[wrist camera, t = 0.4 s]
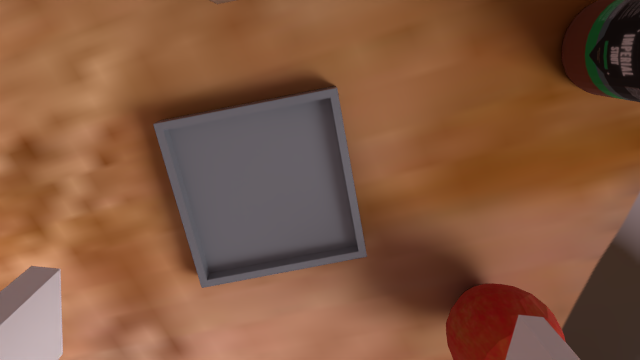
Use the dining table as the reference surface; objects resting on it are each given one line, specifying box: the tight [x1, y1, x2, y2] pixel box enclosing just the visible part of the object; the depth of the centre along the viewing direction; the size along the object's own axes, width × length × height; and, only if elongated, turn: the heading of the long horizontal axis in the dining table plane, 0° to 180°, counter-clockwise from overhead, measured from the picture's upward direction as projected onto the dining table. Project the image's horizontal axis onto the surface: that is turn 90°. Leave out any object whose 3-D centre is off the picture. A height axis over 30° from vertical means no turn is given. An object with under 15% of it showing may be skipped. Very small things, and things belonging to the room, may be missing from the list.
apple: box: [446, 284, 565, 360], centre depth 36 cm, size 9×8×11 cm
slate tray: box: [153, 86, 367, 288], centre depth 37 cm, size 14×14×2 cm
